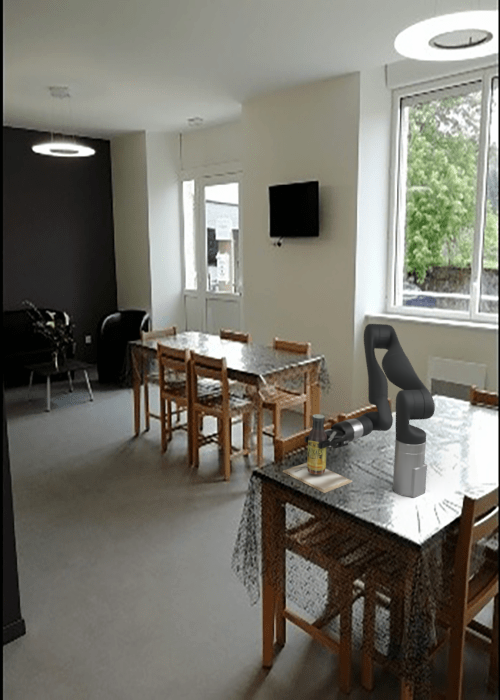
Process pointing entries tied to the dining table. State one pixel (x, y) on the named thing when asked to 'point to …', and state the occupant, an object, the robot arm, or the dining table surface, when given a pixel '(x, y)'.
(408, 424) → the robot arm
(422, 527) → the dining table surface
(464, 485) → the dining table surface
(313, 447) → the sauce bottle
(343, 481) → the notepad
